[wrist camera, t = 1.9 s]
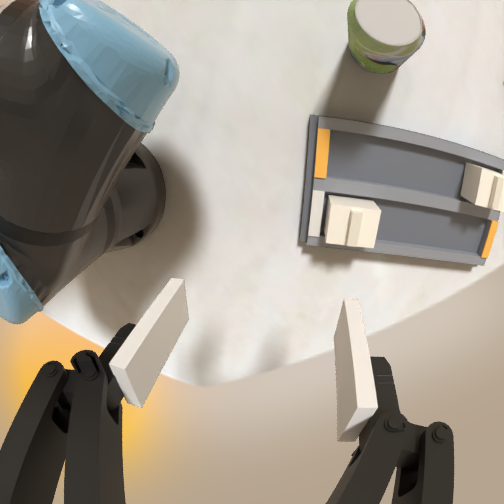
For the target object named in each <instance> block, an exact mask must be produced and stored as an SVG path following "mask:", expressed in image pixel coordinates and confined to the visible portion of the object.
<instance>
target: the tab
mask: <svg viewBox="0 0 504 504" xmlns="http://www.w3.org/2000/svg"><path fill="white" fill-rule="evenodd" d="M380 215H381V210H380V208H379V207H378V206H377V205H376V203H375V202H374V201H373V200H367V199H360V198H352V197H344V196H336V195H328V201H327V209H326V217H325V225H324V234H325V241H326V243H330V244H339V245H347V246H352V247H365V248H374V245H375V240H376V235H377V230H378V225H379V220H380Z"/></svg>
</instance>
